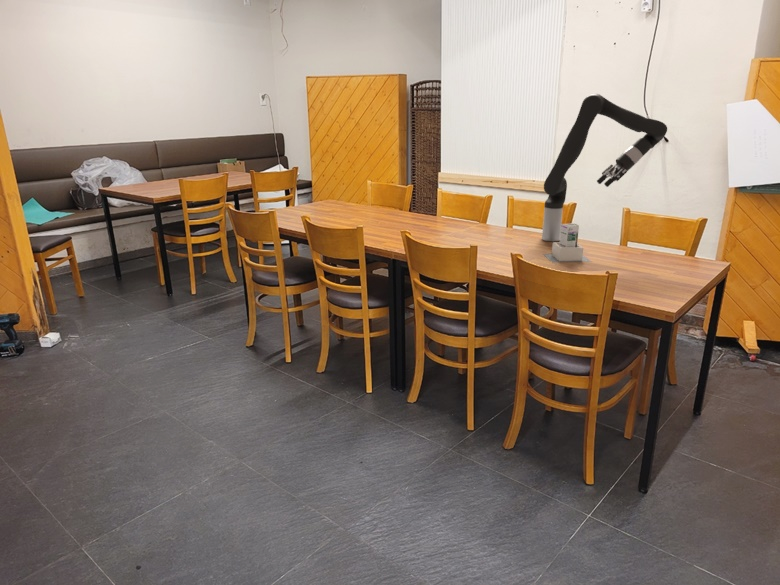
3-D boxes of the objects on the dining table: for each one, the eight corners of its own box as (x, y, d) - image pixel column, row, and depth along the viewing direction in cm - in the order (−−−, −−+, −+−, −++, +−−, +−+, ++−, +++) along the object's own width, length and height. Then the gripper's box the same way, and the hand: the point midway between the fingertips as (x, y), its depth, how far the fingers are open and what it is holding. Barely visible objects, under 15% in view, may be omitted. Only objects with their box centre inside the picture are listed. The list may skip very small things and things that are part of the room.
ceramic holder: (551, 254, 256) (552, 242, 254) (573, 254, 257) (574, 241, 255) (559, 261, 246) (560, 248, 244) (582, 260, 247) (583, 247, 245)
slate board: (542, 257, 258) (542, 254, 258) (579, 256, 259) (580, 253, 259) (552, 265, 245) (552, 262, 245) (591, 264, 246) (591, 261, 245)
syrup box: (564, 257, 248) (567, 226, 243) (558, 254, 254) (561, 223, 249) (576, 256, 249) (579, 225, 245) (569, 253, 255) (572, 222, 250)
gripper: (617, 151, 258) (590, 176, 261) (631, 154, 244) (603, 180, 247) (626, 162, 260) (600, 187, 263) (641, 166, 246) (613, 192, 249)
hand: (601, 184), depth 255 cm, fingers open, 8 cm apart
